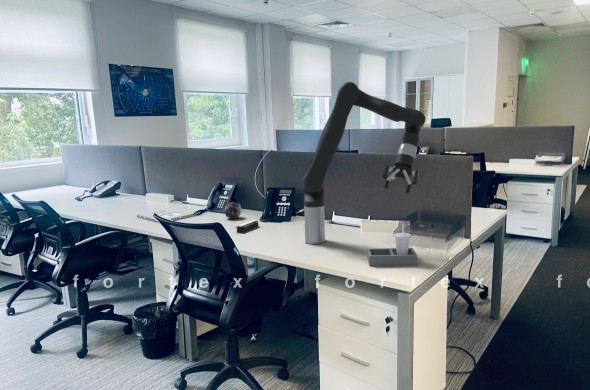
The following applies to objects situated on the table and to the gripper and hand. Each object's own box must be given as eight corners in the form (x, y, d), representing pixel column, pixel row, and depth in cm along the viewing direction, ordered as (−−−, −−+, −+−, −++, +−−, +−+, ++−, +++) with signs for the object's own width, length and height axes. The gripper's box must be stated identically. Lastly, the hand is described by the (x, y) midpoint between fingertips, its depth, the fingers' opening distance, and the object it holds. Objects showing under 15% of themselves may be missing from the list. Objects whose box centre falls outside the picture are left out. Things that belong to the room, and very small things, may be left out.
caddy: (369, 266, 164) (369, 256, 163) (367, 258, 173) (367, 248, 172) (417, 265, 162) (417, 255, 161) (412, 257, 171) (412, 247, 171)
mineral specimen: (235, 220, 248) (234, 204, 246) (221, 219, 253) (220, 203, 252) (245, 217, 256) (244, 201, 255) (231, 215, 262) (230, 200, 260)
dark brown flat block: (226, 234, 222) (225, 226, 221) (254, 223, 243) (254, 216, 242) (248, 237, 214) (247, 229, 213) (275, 225, 235) (275, 218, 234)
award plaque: (171, 210, 288) (171, 207, 287) (196, 216, 267) (196, 212, 267) (137, 218, 270) (136, 214, 270) (161, 224, 250) (160, 220, 249)
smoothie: (413, 257, 167) (413, 223, 165) (405, 262, 163) (406, 226, 160) (398, 254, 172) (398, 221, 169) (390, 258, 167) (390, 224, 165)
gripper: (388, 150, 181) (378, 186, 179) (422, 155, 175) (412, 192, 173) (391, 156, 188) (381, 191, 185) (423, 161, 182) (414, 197, 179)
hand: (396, 191), depth 179 cm, fingers open, 8 cm apart
